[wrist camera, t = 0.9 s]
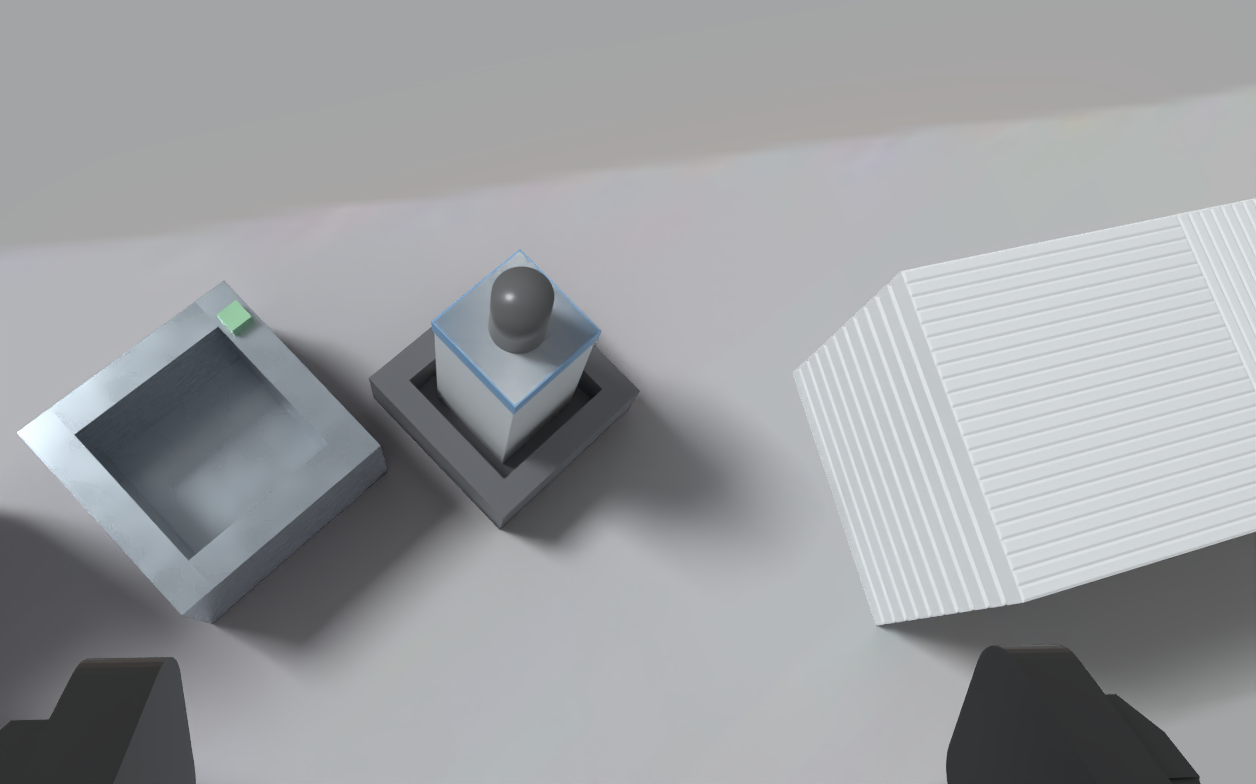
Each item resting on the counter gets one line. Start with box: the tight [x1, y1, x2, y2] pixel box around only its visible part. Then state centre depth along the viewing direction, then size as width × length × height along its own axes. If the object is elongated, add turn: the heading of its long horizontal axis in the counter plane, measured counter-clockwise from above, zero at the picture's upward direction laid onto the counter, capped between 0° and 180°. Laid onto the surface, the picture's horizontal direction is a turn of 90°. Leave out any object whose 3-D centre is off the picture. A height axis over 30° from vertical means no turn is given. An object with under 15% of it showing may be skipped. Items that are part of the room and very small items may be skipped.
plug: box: [431, 249, 601, 464], centre depth 33 cm, size 4×4×10 cm
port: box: [17, 281, 388, 624], centre depth 34 cm, size 8×8×4 cm
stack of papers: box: [793, 198, 1256, 626], centre depth 38 cm, size 32×11×11 cm, turn 105°
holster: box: [369, 327, 639, 530], centre depth 37 cm, size 7×7×2 cm
